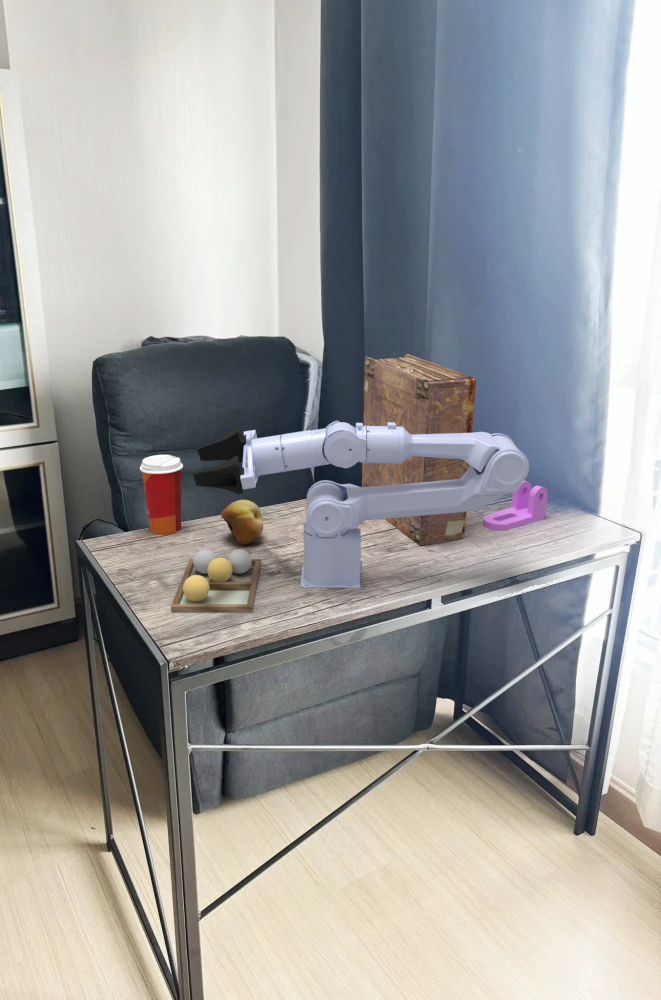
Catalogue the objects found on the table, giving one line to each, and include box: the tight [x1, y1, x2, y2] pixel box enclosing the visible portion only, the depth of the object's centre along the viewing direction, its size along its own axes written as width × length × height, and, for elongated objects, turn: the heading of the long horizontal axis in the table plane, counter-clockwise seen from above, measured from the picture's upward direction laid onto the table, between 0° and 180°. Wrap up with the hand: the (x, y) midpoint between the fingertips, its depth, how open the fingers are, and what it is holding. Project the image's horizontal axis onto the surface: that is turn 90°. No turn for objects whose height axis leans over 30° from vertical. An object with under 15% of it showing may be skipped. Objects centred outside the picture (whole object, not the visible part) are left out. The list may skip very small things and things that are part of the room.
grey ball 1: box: [192, 549, 218, 575], centre depth 132 cm, size 4×4×4 cm
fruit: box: [220, 499, 264, 545], centre depth 144 cm, size 8×8×8 cm
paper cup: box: [139, 454, 184, 536], centre depth 148 cm, size 8×8×14 cm
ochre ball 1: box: [183, 574, 209, 601], centre depth 123 cm, size 4×4×4 cm
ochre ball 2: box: [207, 557, 233, 582], centre depth 129 cm, size 4×4×4 cm
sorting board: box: [170, 558, 262, 614], centre depth 127 cm, size 12×17×2 cm
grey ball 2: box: [227, 549, 253, 575], centre depth 132 cm, size 4×4×4 cm
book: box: [361, 353, 477, 547], centre depth 152 cm, size 25×9×30 cm, turn 23°
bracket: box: [482, 479, 549, 532], centre depth 155 cm, size 13×6×7 cm, turn 125°
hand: (197, 466), depth 124 cm, fingers open, 7 cm apart
